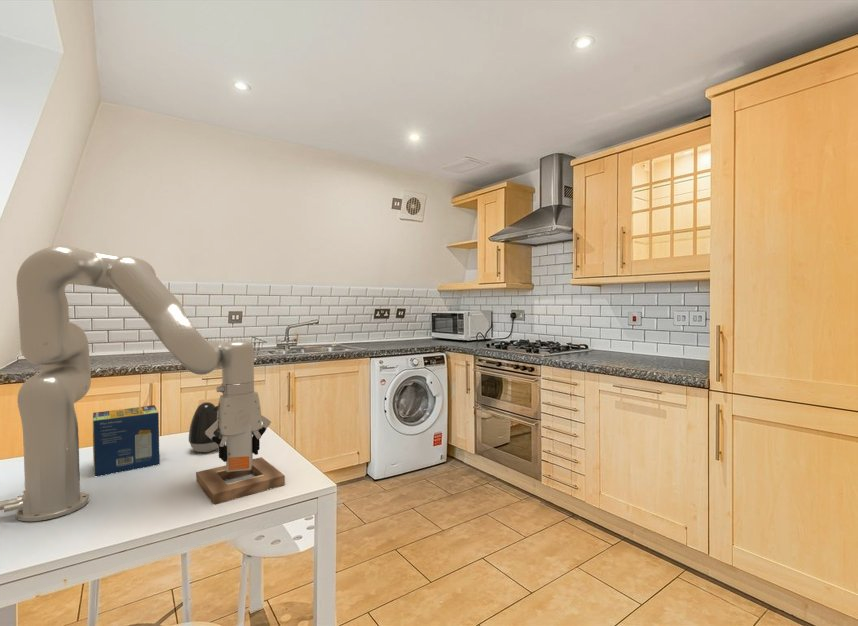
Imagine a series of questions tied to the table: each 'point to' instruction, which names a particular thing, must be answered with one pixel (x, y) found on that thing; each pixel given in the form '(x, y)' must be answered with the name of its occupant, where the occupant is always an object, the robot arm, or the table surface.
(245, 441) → the skincare box
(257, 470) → the wooden square frame
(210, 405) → the pump dispenser
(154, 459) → the protein box
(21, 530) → the table surface
